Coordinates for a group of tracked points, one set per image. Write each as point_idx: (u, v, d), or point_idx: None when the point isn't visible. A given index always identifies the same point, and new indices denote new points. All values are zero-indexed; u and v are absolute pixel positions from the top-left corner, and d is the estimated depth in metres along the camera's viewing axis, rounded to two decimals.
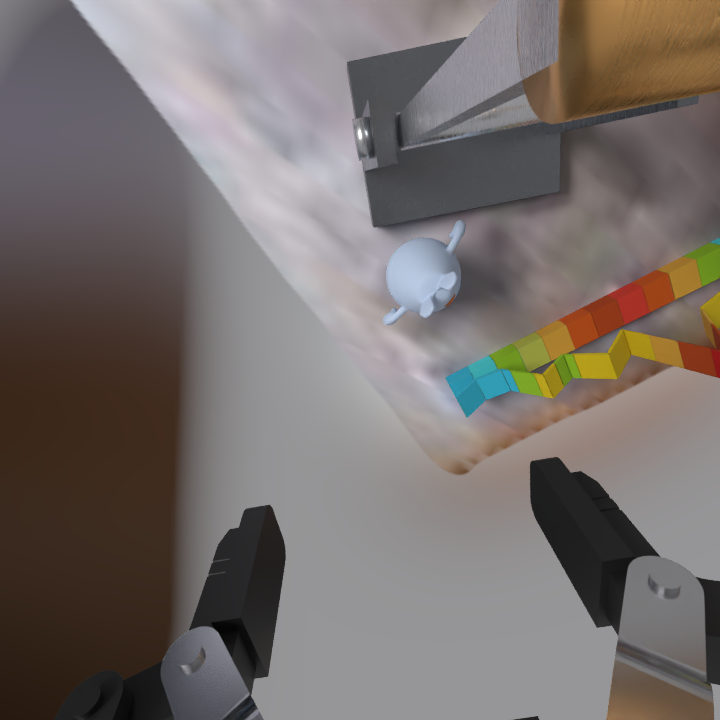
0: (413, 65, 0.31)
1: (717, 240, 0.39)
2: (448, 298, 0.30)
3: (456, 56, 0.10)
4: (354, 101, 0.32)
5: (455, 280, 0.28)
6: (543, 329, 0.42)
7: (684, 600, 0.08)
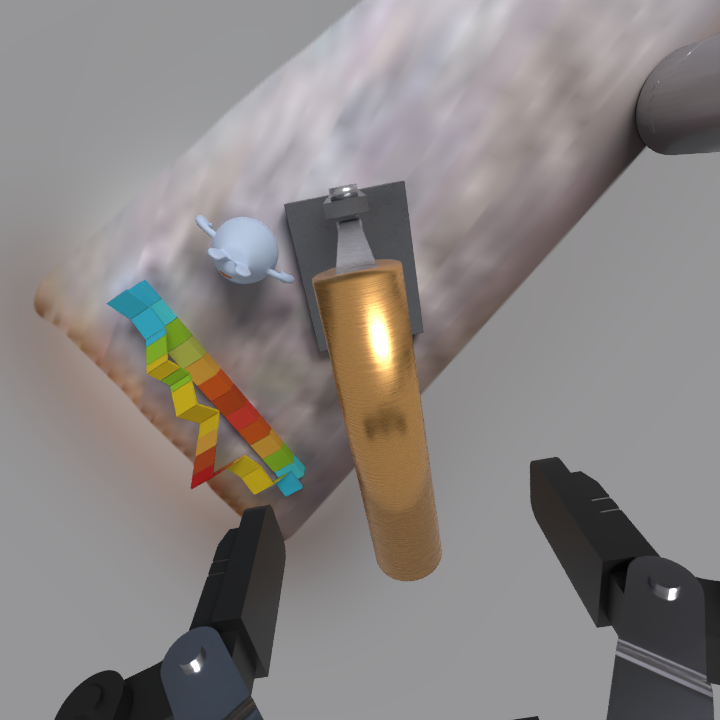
0: (400, 233, 0.42)
1: (296, 458, 0.55)
2: (227, 272, 0.36)
3: (365, 243, 0.18)
4: (378, 186, 0.40)
5: (243, 275, 0.34)
6: (210, 358, 0.49)
7: (684, 600, 0.08)
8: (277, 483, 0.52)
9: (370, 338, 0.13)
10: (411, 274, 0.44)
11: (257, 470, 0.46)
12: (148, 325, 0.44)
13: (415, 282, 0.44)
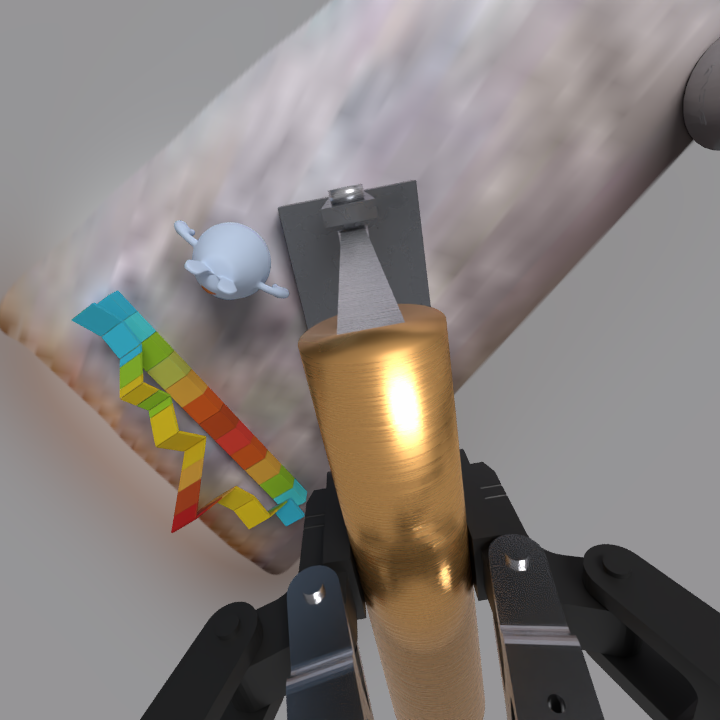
0: (411, 241, 0.37)
1: (296, 482, 0.50)
2: (210, 288, 0.30)
3: (377, 269, 0.13)
4: (386, 187, 0.35)
5: (227, 292, 0.28)
6: (195, 375, 0.43)
7: (527, 570, 0.09)
8: (276, 512, 0.47)
9: (394, 447, 0.08)
10: (422, 286, 0.39)
11: (251, 502, 0.41)
12: (121, 342, 0.38)
13: (427, 295, 0.39)
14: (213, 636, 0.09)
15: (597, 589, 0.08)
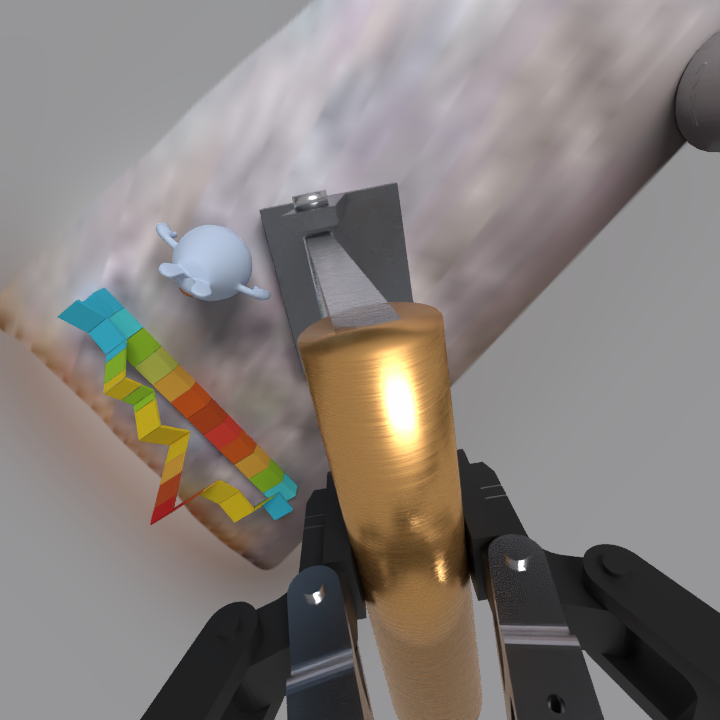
0: (393, 243, 0.37)
1: (286, 477, 0.50)
2: (186, 290, 0.31)
3: (357, 271, 0.13)
4: (367, 190, 0.35)
5: (200, 296, 0.29)
6: (183, 371, 0.44)
7: (527, 570, 0.09)
8: (264, 506, 0.47)
9: (401, 441, 0.08)
10: (405, 289, 0.38)
11: (235, 495, 0.41)
12: (107, 338, 0.39)
13: (410, 298, 0.39)
14: (213, 636, 0.09)
15: (597, 589, 0.08)
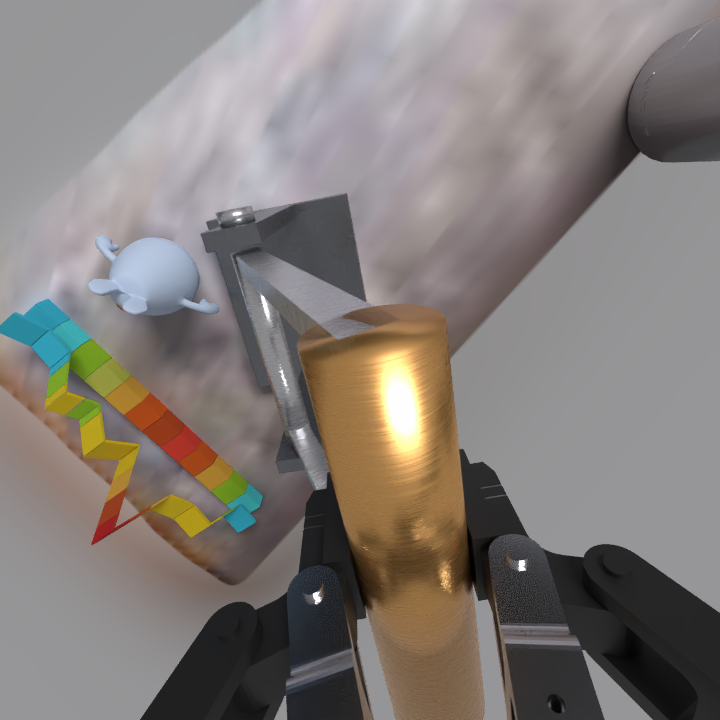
0: (345, 255, 0.36)
1: (250, 487, 0.49)
2: None
3: (318, 281, 0.13)
4: (316, 201, 0.34)
5: (133, 313, 0.28)
6: (135, 382, 0.43)
7: (528, 570, 0.09)
8: (227, 518, 0.46)
9: (420, 440, 0.08)
10: None
11: (190, 510, 0.40)
12: (50, 351, 0.38)
13: None
14: (213, 636, 0.09)
15: (597, 589, 0.08)
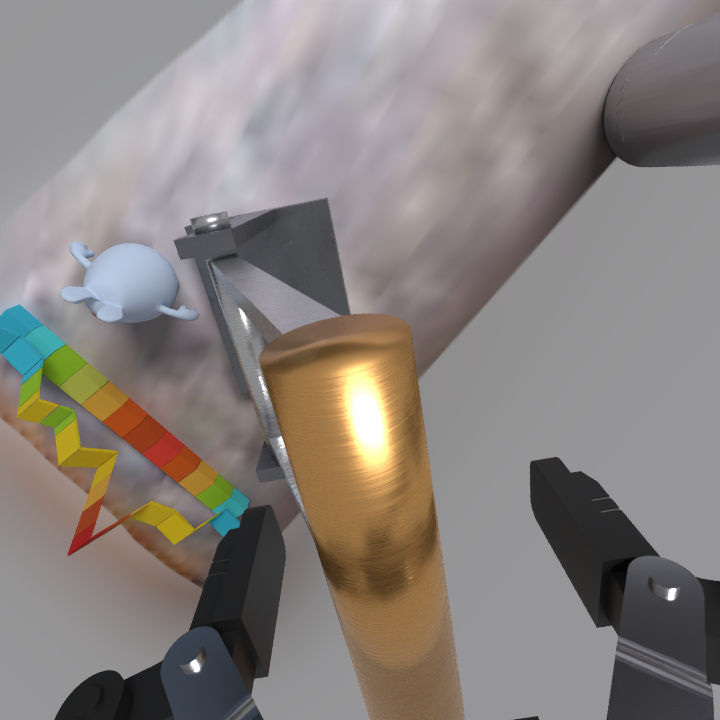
0: (326, 260, 0.36)
1: (236, 491, 0.48)
2: None
3: (289, 289, 0.13)
4: (296, 205, 0.34)
5: (107, 321, 0.27)
6: (113, 387, 0.42)
7: (684, 600, 0.08)
8: (212, 524, 0.45)
9: (386, 454, 0.08)
10: (342, 307, 0.37)
11: (172, 516, 0.39)
12: (22, 358, 0.37)
13: None
14: None
15: None
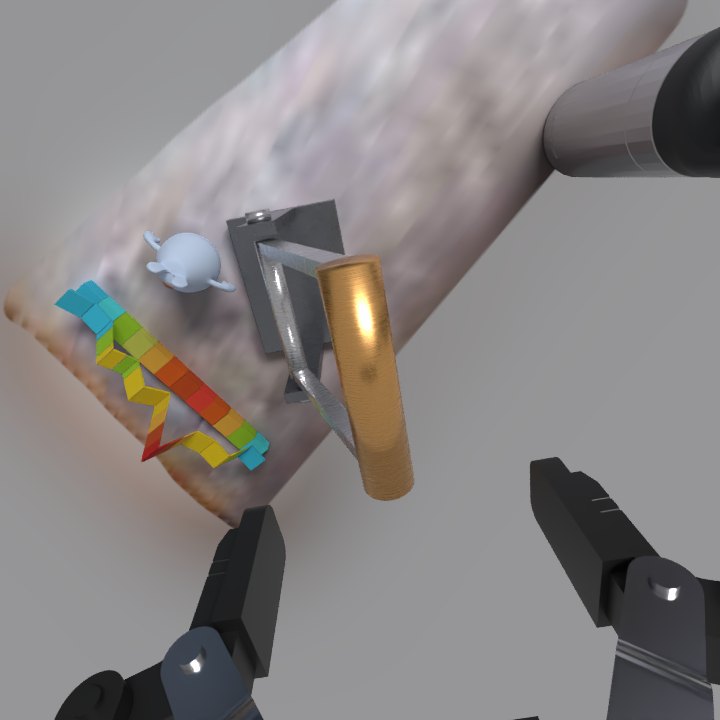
0: (333, 247, 0.47)
1: (259, 434, 0.58)
2: (168, 283, 0.40)
3: (320, 250, 0.24)
4: (311, 205, 0.45)
5: (179, 286, 0.38)
6: (162, 347, 0.52)
7: (684, 600, 0.08)
8: (241, 458, 0.56)
9: (368, 307, 0.18)
10: None
11: (212, 444, 0.50)
12: (96, 320, 0.48)
13: None
14: None
15: None
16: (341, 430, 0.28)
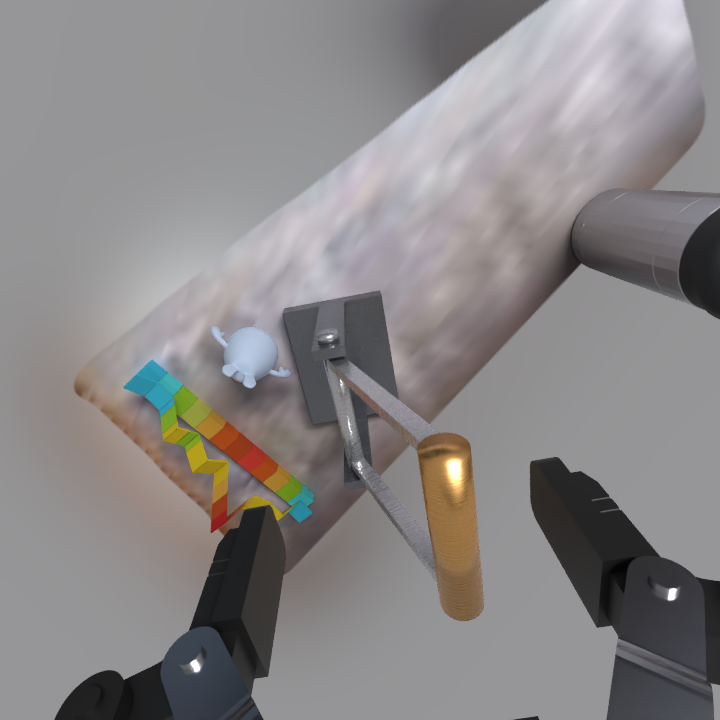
0: (379, 334, 0.51)
1: (304, 487, 0.63)
2: (237, 380, 0.44)
3: (404, 406, 0.28)
4: (360, 299, 0.49)
5: (250, 387, 0.42)
6: (216, 414, 0.57)
7: (684, 600, 0.08)
8: (290, 512, 0.60)
9: (462, 488, 0.23)
10: (388, 364, 0.53)
11: None
12: (159, 398, 0.52)
13: (392, 370, 0.53)
14: None
15: None
16: (411, 540, 0.33)
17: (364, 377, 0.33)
